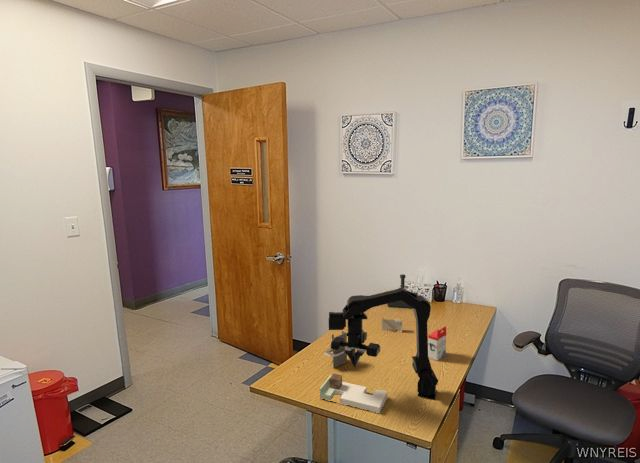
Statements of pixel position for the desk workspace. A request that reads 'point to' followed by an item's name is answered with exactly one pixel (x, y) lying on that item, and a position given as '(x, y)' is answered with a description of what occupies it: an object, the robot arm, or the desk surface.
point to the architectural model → (338, 352)
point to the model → (392, 324)
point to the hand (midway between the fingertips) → (355, 366)
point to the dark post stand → (401, 303)
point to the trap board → (355, 396)
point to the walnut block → (335, 381)
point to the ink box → (437, 344)
